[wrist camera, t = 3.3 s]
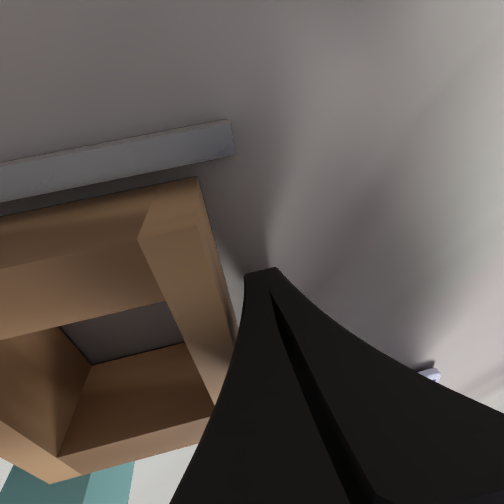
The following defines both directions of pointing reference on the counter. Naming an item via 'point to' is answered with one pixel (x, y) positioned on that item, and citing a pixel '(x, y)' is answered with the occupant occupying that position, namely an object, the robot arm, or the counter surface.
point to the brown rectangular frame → (103, 303)
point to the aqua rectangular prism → (69, 488)
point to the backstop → (115, 160)
